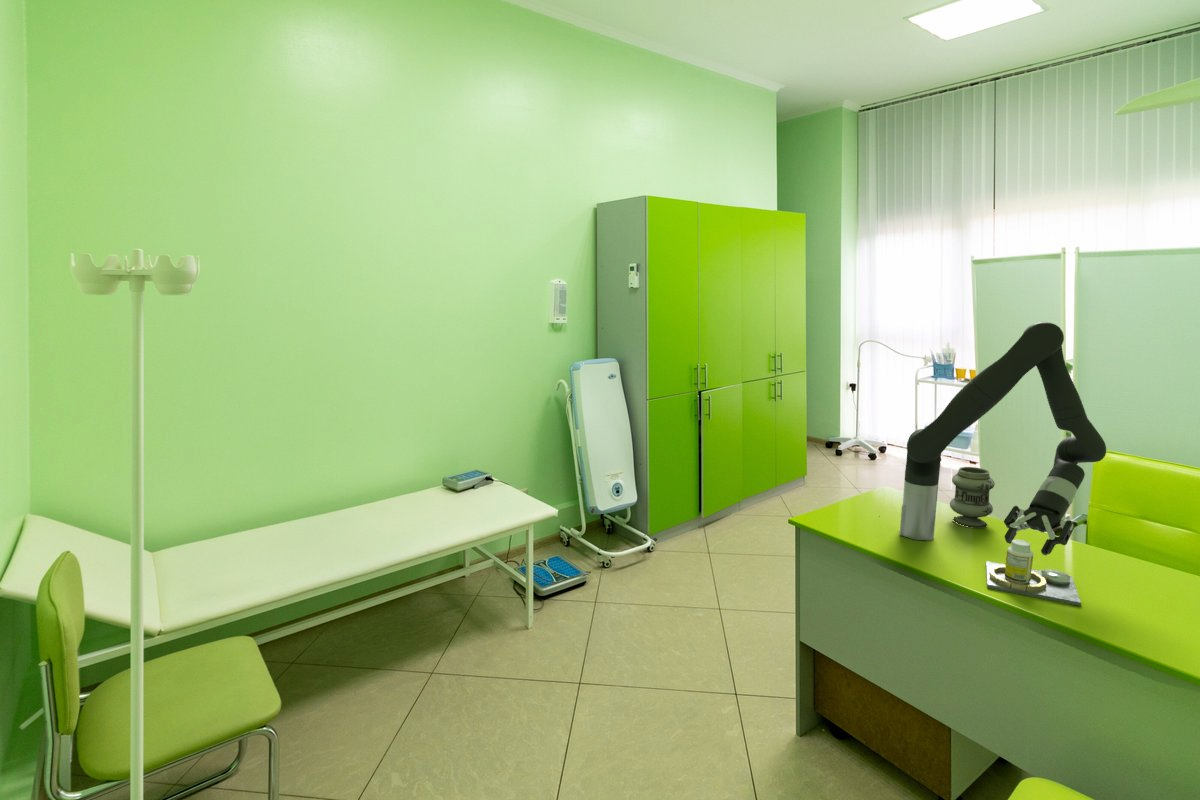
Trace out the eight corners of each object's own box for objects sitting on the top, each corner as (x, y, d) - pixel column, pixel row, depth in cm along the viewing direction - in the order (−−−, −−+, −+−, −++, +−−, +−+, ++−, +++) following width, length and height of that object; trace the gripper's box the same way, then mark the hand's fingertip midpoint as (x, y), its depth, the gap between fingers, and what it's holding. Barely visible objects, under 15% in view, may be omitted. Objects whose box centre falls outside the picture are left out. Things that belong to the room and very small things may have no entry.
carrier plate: (987, 587, 156) (988, 578, 156) (985, 564, 170) (986, 555, 170) (1080, 606, 147) (1082, 596, 146) (1071, 580, 160) (1072, 571, 160)
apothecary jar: (948, 514, 209) (953, 462, 206) (990, 520, 203) (995, 467, 200) (947, 525, 199) (952, 471, 196) (991, 532, 193) (997, 477, 190)
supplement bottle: (1017, 574, 162) (1021, 537, 160) (1035, 583, 156) (1040, 545, 155) (998, 576, 161) (1002, 539, 159) (1016, 585, 155) (1021, 547, 154)
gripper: (1020, 482, 166) (991, 530, 163) (1081, 497, 154) (1051, 549, 150) (1028, 498, 170) (1000, 545, 166) (1089, 514, 157) (1060, 565, 154)
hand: (1025, 547), depth 158 cm, fingers open, 8 cm apart
